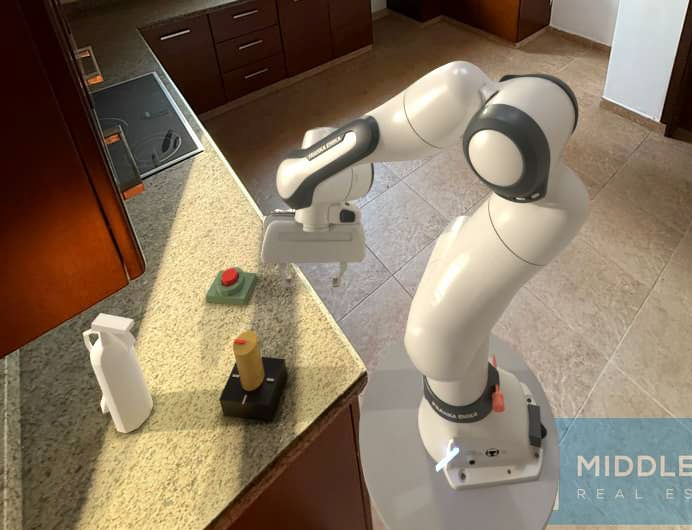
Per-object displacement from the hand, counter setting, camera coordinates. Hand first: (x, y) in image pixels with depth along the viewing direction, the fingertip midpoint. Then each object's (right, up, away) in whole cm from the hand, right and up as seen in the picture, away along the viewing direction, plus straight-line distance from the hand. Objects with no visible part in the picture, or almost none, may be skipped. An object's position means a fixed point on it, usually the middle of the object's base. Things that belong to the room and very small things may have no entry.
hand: (311, 286), depth 83 cm
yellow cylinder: (-12, -19, +2) cm, 23 cm away
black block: (-12, -24, +3) cm, 27 cm away
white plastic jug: (-36, -26, +2) cm, 45 cm away
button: (-25, -14, +24) cm, 38 cm away
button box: (-25, -18, +25) cm, 40 cm away
